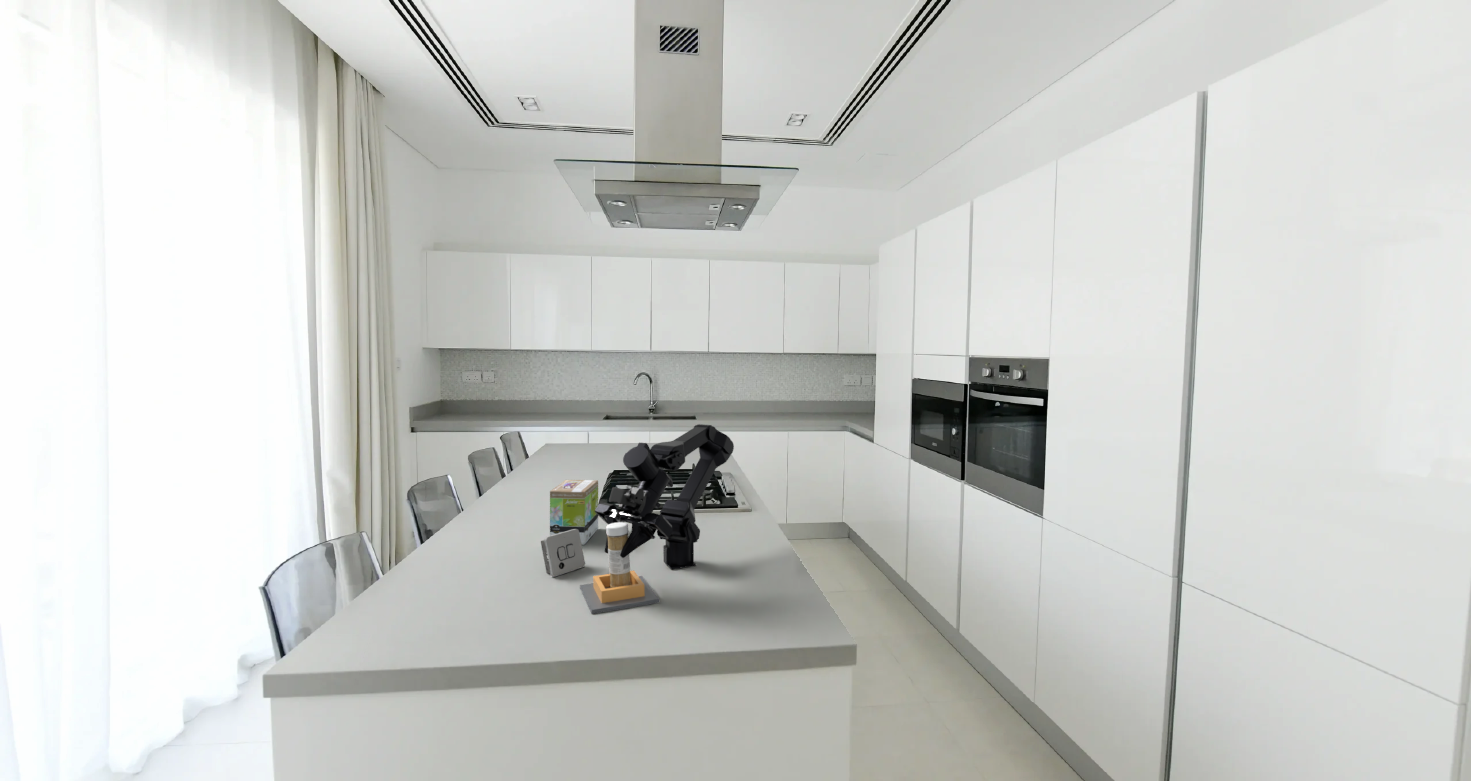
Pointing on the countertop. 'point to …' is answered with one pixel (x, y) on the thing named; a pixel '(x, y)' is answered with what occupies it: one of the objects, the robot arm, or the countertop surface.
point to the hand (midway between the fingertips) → (613, 554)
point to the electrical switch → (563, 552)
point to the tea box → (574, 508)
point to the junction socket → (617, 594)
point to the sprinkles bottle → (618, 554)
